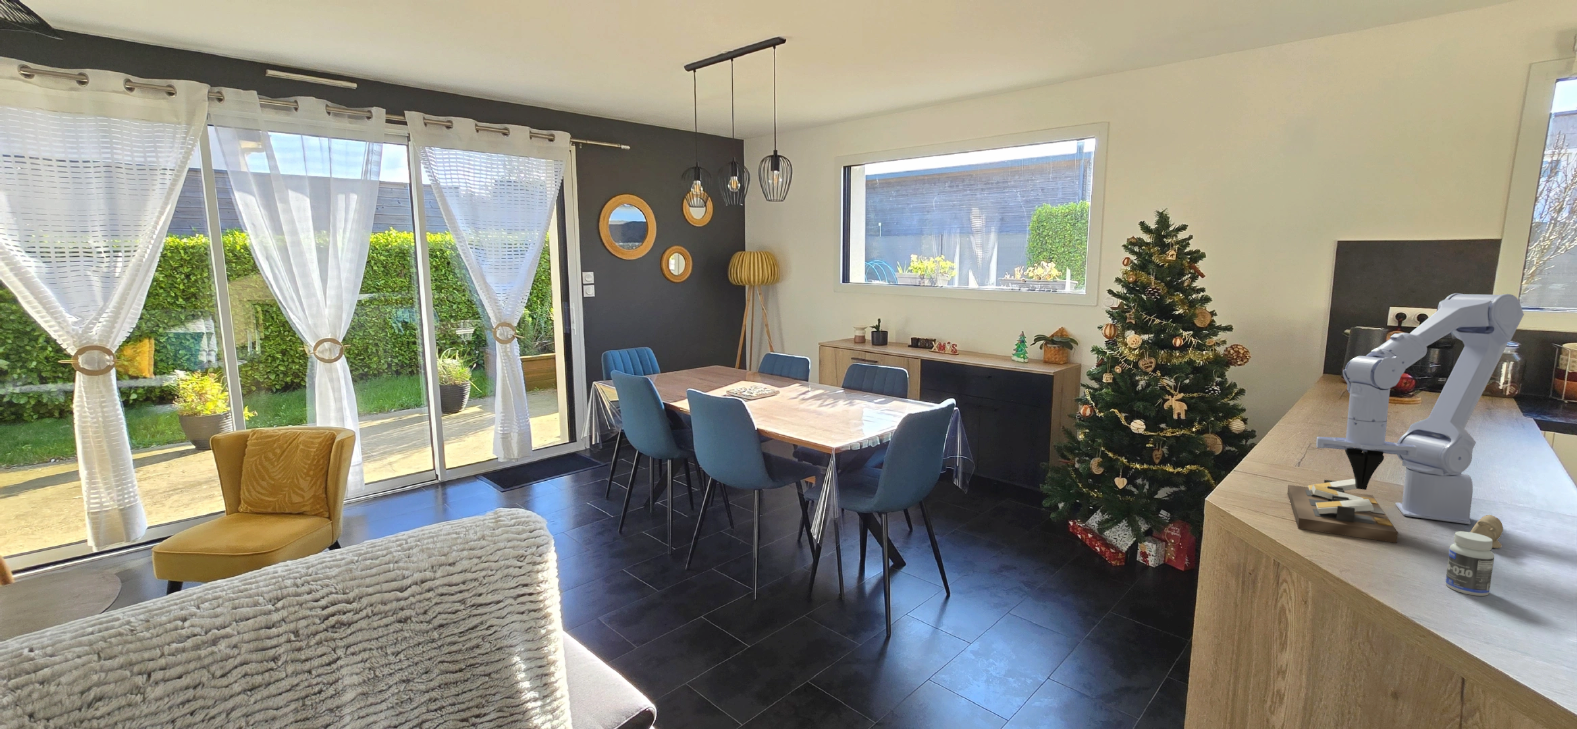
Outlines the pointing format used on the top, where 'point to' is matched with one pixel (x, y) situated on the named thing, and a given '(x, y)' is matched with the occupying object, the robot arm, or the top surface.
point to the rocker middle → (1331, 493)
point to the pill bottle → (1470, 564)
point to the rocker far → (1337, 485)
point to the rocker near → (1344, 505)
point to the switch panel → (1340, 516)
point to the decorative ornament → (1489, 529)
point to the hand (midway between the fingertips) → (1360, 488)
